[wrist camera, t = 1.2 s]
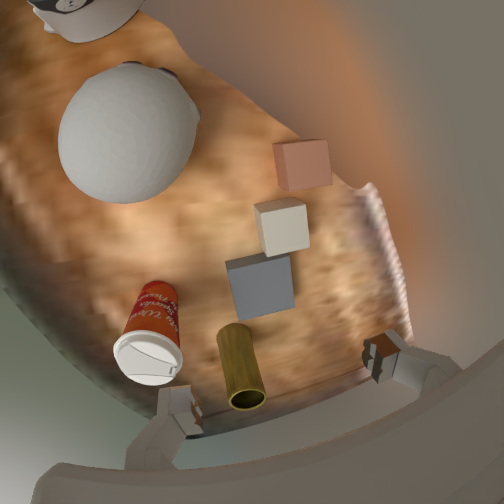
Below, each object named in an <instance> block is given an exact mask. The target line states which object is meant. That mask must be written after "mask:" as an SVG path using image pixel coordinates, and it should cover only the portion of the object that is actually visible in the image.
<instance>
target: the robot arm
mask: <svg viewBox="0 0 504 504" xmlns="http://www.w3.org/2000/svg"><path fill="white" fill-rule="evenodd" d="M27 1H28V2H29V3H30V4H31V5H32V6H34V8H33V11H34V12H35V13H36V14H37V15H38V16H39V17H40V18H41V19H42V20H43V21H44V22H45V25H44V29H45V30H46V31H47V32H48V33H58V34H60V35H61V36H62V37H63V38H65V39H66V40H68V41H71V42H78V43H79V42H89V41H93V40H96V39H99V38H101V37H104V36H106V35H108V34H110V33H111V32H113V31H115V30H116V29H118V28H119V27H121V26H122V25H123V24H125V23H126V22H127V21H128V20H129V19H130V18H131V17H132V16H133V15H134V14H135V13H136V11H137V10H138V9H139V7H140V6H141V4H142V3H143V2H144V0H27ZM363 346H364V347H365V349H364V351H363V352H362V359H363V363H364V365H365V367H366V368H367V369H368V370H370V371H372V374H371V375H372V377H373V378H374V380H375V381H376V382H377V384H379V383H381V382H383V381H385V380H388V379H390V378H392V379H394V380H396V381H398V382H400V383H402V384H404V385H406V386H409V387H410V388H413V389H415V390H417V391H419V392H420V395H419V397H418V399H417V400H416V401H414V402H412V403H410V404H408V405H406V406H405V407H403V408H401V409H399V410H397V411H395V412H393V413H391V414H389V415H387V416H385V417H383V418H381V419H379V420H376V421H374V422H372V423H370V424H368V425H365V426H363V427H360V428H358V429H356V430H353V431H351V432H348V433H346V434H343V435H340V436H338V437H335V438H332V439H329V440H326V441H324V442H321V443H318V444H315V445H311V446H308V447H305V448H302V449H298V450H295V451H291V452H287V453H284V454H280V455H276V456H271V457H267V458H262V459H258V460H253V461H248V462H243V463H237V464H231V465H224V466H216V467H208V468H198V469H185V470H178V469H177V468H176V467H175V466H174V465H173V464H172V463H171V462H172V460H173V459H174V457H175V455H176V453H177V452H178V450H179V448H180V447H181V445H182V443H183V441H184V440H185V438H186V435H193V434H200V433H204V429H203V421H202V419H201V415H202V407H201V402H200V400H199V397H198V396H197V395H195V389H194V387H193V385H186V386H178V387H170V388H161V389H160V390H159V396H158V407H157V416H154V417H153V418H152V419H151V420H150V421H149V423H148V424H147V425H146V427H145V428H144V429H143V430H142V431H141V432H140V433H139V435H138V436H137V437H136V438H135V439H134V440H133V442H132V443H131V444H130V445H129V446H128V448H127V451H126V459H125V469H124V470H117V469H104V468H95V467H87V466H80V465H74V464H68V463H57V464H56V465H54V466H53V467H52V468H50V469H49V470H48V471H47V472H46V473H44V474H43V475H42V476H41V477H40V478H39V480H38V481H37V483H36V486H35V488H34V492H33V495H32V500H31V504H504V339H502V340H501V341H500V342H498V343H497V344H496V345H495V346H494V347H493V348H491V349H490V350H489V351H488V352H487V353H485V354H484V355H483V356H481V357H480V358H479V359H478V360H477V361H475V362H474V363H472V364H471V365H470V366H468V367H467V368H466V369H464V370H462V369H461V368H460V367H459V366H458V365H457V364H456V363H455V362H454V361H453V360H452V359H451V358H450V357H449V356H445V355H441V354H438V353H434V352H431V351H428V350H424V349H421V348H417V347H414V346H411V347H409V346H408V345H407V344H406V342H405V341H404V340H403V339H402V338H401V337H400V336H399V335H398V334H397V333H396V332H395V331H394V330H393V329H389V330H387V331H384V332H382V333H379V334H377V335H374V336H372V337H369V338H367V339H365V340H364V344H363Z"/></svg>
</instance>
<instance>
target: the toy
mask: <svg viewBox="0 0 504 504" xmlns="http://www.w3.org/2000/svg"><path fill="white" fill-rule="evenodd" d="M200 119H201V112H200V110H199V108H198V107H197V105H196V104H195V103H194V102H193V101H192V99H191V98H190V97H189V95H188V94H187V92H186V91H185V89H184V88H183V87H182V86H181V84H180V83H179V82H178V79H177V75H176V74H175V73H173V72H172V71H170V70H168V69H165V68H158V69H154V68H150V67H146V66H144V65H143V64H142V63H140V62H136V61H127V62H123V63H122V64H120V65H119V66H117V67H114V68H111V69H108V70H105V71H103V72H101V73H99V74H97V75H95V76H93V77H91V78H88V79H87V80H86V81H85V82H84V84H83V86H82V87H81V88H80V89H79V90H78V91H77V92H76V94H75V95H74V96H73V98H72V99H71V101H70V102H69V104H68V106H67V108H66V110H65V113H64V115H63V118H62V121H61V124H60V129H59V137H58V149H59V156H60V161H61V163H62V166H63V169H64V171H65V173H66V175H67V176H68V177H69V179H70V180H71V181H72V183H73V184H74V185H75V186H76V187H77V188H79V189H80V190H81V191H83V192H84V193H86V194H87V195H89V196H91V197H93V198H96V199H98V200H101V201H105V202H110V203H118V204H128V203H136V202H141V201H144V200H148V199H150V198H152V197H154V196H156V195H158V194H160V193H161V192H163V191H164V190H165V189H166V188H167V187H169V186H170V185H171V184H172V183H173V182H174V180H175V179H176V178H177V177H178V176H179V174H180V173H181V172H182V170H183V169H184V167H185V165H186V163H187V161H188V159H189V157H190V155H191V152H192V149H193V146H194V142H195V137H196V130H197V124H198V123H199V121H200Z"/></svg>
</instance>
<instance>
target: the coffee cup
mask: <svg viewBox="0 0 504 504" xmlns="http://www.w3.org/2000/svg"><path fill="white" fill-rule="evenodd" d="M113 350H114V356H115V358H116V361H117V363H118V365H119V367H120V369H121V370H122V371H123V373H124V374H125V375H126V376H127V377H129V378H130V379H132V380H134V381H136V382H138V383H141V384H146V385H161V384H165V383H167V382H169V381H171V380H172V379H173V378H174V377H175V374H176V373H177V372H178V371H179V370H180V368H181V366H182V362H183V358H182V353H181V351H180V341H179V326H178V299H177V294H176V292H175V290H174V289H173V287H171V286H170V285H169V284H167V283H165V282H162V281H153V282H150V283H148V284H146V285H145V286H144V287H143V289H142V291H141V292H140V295H139V297H138V299H137V301H136V303H135V306H134V308H133V310H132V313H131V315H130V317H129V320H128V322H127V325H126V327H125V330H124V332H123V335H122V336H121V337H120V338H119V339H118V341H117V342H116V343H115V344H114V349H113Z"/></svg>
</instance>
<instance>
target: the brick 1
mask: <svg viewBox="0 0 504 504" xmlns="http://www.w3.org/2000/svg"><path fill="white" fill-rule="evenodd" d="M272 146H273V152H274V159H275V165H276V172H277V178H278V185H279V187H281V188H283V189H285V190H286V191H288V192H293V191H299V190H304V189H310V188H316V187H322V186H328V185H332V175H331V166H330V157H329V148H328V141H327V140H326V139H309V140H301V141H293V142H285V143H278V144H272Z"/></svg>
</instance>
